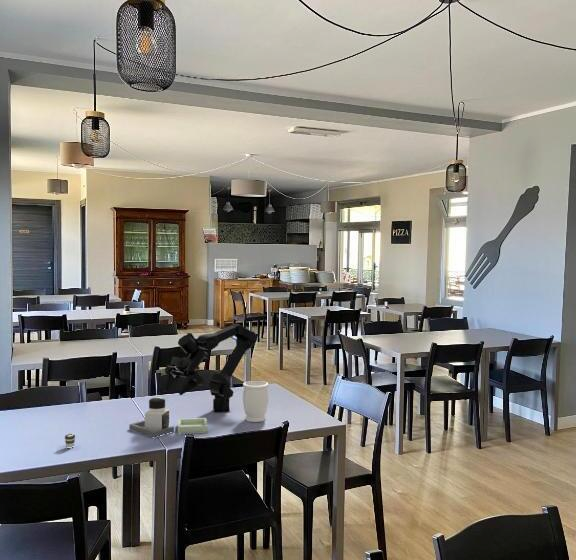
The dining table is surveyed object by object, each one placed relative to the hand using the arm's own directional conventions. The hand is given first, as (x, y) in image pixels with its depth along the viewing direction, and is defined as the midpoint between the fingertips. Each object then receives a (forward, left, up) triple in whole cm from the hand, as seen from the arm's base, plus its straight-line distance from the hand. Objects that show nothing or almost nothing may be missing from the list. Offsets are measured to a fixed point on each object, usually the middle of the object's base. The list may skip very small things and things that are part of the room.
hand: (172, 392), depth 224 cm
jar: (-34, -3, -13) cm, 36 cm away
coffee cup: (+34, +22, -14) cm, 42 cm away
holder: (+7, +7, -13) cm, 16 cm away
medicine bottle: (+5, +5, -13) cm, 15 cm away
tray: (-8, +6, -13) cm, 16 cm away
